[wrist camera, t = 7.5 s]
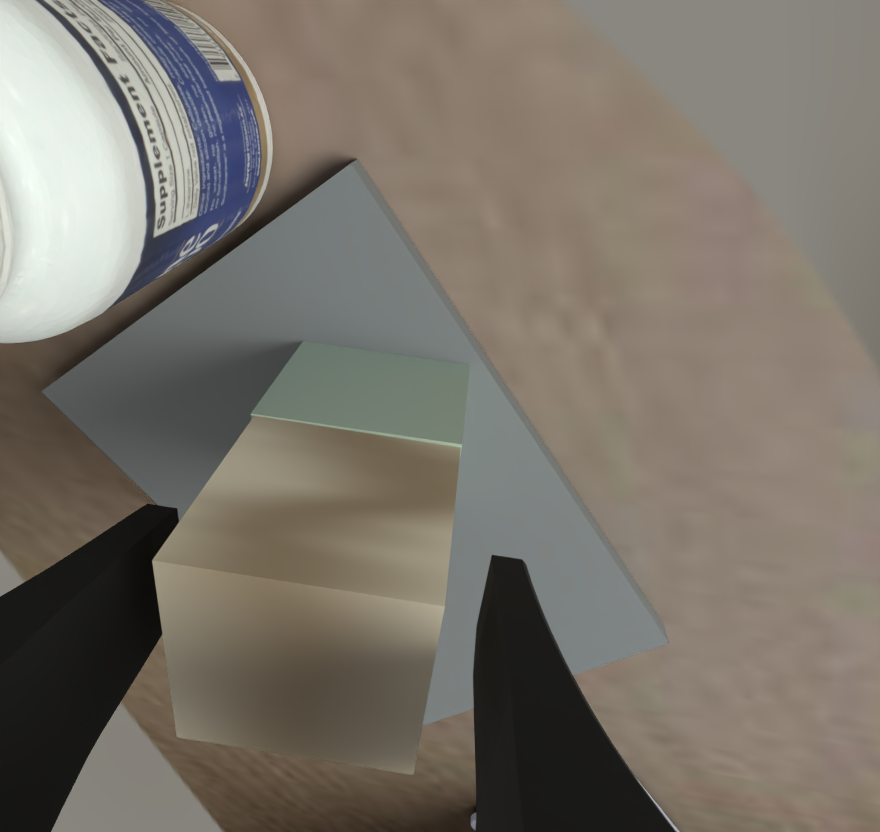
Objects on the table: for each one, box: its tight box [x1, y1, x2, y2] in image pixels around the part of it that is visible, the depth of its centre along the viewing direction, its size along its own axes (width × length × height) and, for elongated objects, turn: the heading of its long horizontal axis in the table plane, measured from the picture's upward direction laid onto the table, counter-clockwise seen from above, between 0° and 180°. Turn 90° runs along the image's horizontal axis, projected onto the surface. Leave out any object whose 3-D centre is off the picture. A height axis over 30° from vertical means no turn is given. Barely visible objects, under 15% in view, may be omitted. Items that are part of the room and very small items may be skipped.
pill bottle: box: [0, 0, 273, 343], centre depth 11 cm, size 5×5×10 cm
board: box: [41, 159, 669, 726], centre depth 20 cm, size 18×12×1 cm, turn 33°
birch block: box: [152, 416, 461, 775], centre depth 12 cm, size 4×4×4 cm
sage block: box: [251, 341, 470, 461], centre depth 16 cm, size 4×4×4 cm
